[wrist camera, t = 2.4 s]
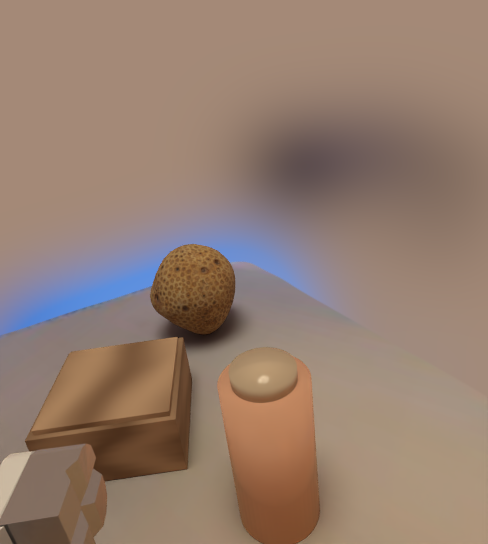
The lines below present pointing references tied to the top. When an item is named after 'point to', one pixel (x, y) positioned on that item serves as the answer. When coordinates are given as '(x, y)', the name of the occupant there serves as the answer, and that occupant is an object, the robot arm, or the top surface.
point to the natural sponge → (194, 288)
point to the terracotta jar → (271, 444)
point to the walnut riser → (121, 408)
